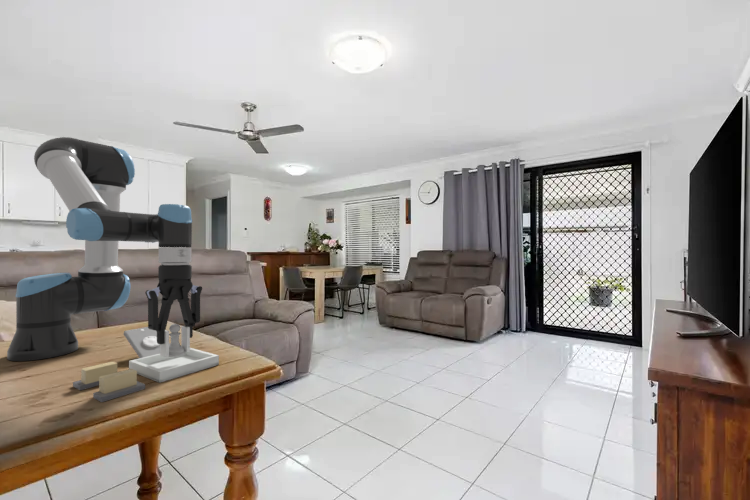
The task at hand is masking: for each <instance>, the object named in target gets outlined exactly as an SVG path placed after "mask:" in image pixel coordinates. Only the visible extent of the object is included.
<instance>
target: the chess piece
mask: <svg viewBox="0 0 750 500" xmlns="http://www.w3.org/2000/svg"><path fill="white" fill-rule="evenodd" d="M168 329H169V330H168V331H169V337H170V342H169V343H170V346H169V357H176V356H180V355H183V354H184V353H185V351H184V348H183V347H182V346H181V342H180V336H181V332H180V330H181V325H180V324H179V323H173V324H171V325H170V326H169V327H168Z"/></svg>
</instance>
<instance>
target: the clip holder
mask: <svg viewBox="0 0 750 500" xmlns="http://www.w3.org/2000/svg"><path fill="white" fill-rule="evenodd" d="M80 376H81V377H80V380H77V381H73V382H72V388H74V389H76V390H79V391H84V390H87V389H91V388H94V387H97V386H98V391H95V392H93V394H92V396H93V399H95V400H97V401H99V402H100V403H103V402H106V401H110V400H114V399H117V398H120V397H123V396H126V395H129V394H133V393H136V392H139V391H142V390H146V384H145V383H143V382H140V381H138V378H137V377H138V374H137V371H136V370H133V369H129V368H128V369H125V370H121V371H118V362H115V361H108V362H105V363H104V362H103V363H99V364H96V365H92V366H87V367H82V368H81V370H80Z"/></svg>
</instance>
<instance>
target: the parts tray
mask: <svg viewBox="0 0 750 500" xmlns="http://www.w3.org/2000/svg"><path fill="white" fill-rule="evenodd" d="M219 365H220V355H219V354H215V353H212V352H208V351H205V350H200V349H197V348H193V347H190V351H189V352H185V353H184V354H183V355H180V356H176V357H163V356H160V354H156V355H152V356H147V357H143V358H139V357H138V358H135V359H132V360H128V369H133V370H136V371H137V375H139V376H142V377H144V378H147V379H149V380H152V381H155V382H156V383H159V384H161V383H163V382H167V381H170V380H174V379H176V378H181V377H184V376H187V375H190V374H193V373H196V372H200V371H203V370H205V369H209V368H212V367H215V366H219Z"/></svg>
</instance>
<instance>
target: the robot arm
mask: <svg viewBox="0 0 750 500" xmlns="http://www.w3.org/2000/svg"><path fill="white" fill-rule="evenodd" d="M33 159H34V165H35V167H36V168H37V170H38V172H39V173H40V175H42V176H43V177H45V179H49V181H50V182H51V184H52V186H53V187H54V189H55V191H56V192H57V194H58V195H59V196H60V198H61V199H62V202H63V203H64V205H65V206H66V208H67V209H68V211H69V212H68V213H67V215H66V221H65V224H66V225H65V226H66V230H67V234H68V236H69V237H70V238H72V239H74V240H75V241H77V240H78V241H84V265H83V266H82V267H81V268H79V269H78V270H77V276H72V274H71V273H70V272H56V273H46V274H40V275H32V276H28V277H25V278H22V279H21V280H19V281H18V282H17V286H16V292H15V299H16V300H15V301H16V307H15V310H16V311H15V313H16V316H15V317H16V321H15V322H16V325H15V326H16V330H15V333H14V335H13V336H12V339H11V342H10V344H9V347H8V349H7V352H6V355H7V357H6V360H8V361H13V362H25V361H26V362H27V361H28V362H29V361H37V360H43V359H49V358H50V359H51V358H55V357H60V356H64V355H67V354H71V353H73V352H76V351H78V350H79V341H78V338H77V335H76V334H75V331H74V328H73V327H72V322H71V319H72V318H71V317H72V315H76V314H86V313H93V312H103V311H104V312H107V311H110V310H116V309H120V308H122V307H124V305H125V304H126V303H127V301H128V299H129V297H130V294H131V293H130V292H131V282H130V281H131V280H130V278H129V275H127V274H125V273H124V269H123V268H121V267H120V266H119V263H118V262H119V242H136V243H137V242H139V243H141V242H142V243H152V244H153V243H157V242H158V263H159V266H158V268H157V269H158V270H157V271H158V277H157V278H158V283H157V286H156V287H155V288H153V289H147V290H146V291H144V292H145V296H146V298H147V327H148V328H149V329H151V330H156V331H157V343H158V344H160V356H163V357H169V343H170V335H169V334H170V330H167V329H166V328H167V326H168V322H169V318H170V313H171V308H172V305H173V304H174V301H176V300H177V302H178V303H179V308H180V311H181V315H182V320H183V323H184V325H180V330H181V332H180V333H181V334H180V336H181V337H180V339H181V342H180V345H181V346H182V347H183V348H184V351H185V352H189V351H190V348H191V339H192V338H193V335H194V332H193V331H194V329H193V328H194V327H195V326H196V324H197V323H200V321H201V293H202V291H203V287H202V286H200V285H194V284H193V282H192V275H193V271H192V270H193V269H192V267H193V266H192V264H190V263H192V261H193V260H192V255H193V254H192V249H193V248H192V245H193V243H192V242H193V241H192V240H193V239H192V238H193V236H192V235H193V219H192V209H191V208H190V206H188V205H186V204H185V205H184V204H177V203H175V204H174V203H165V204H160V205H159V206H158V211H157V213H156V214H151V213H139V212H138V213H137V212H125V211H120V209H121V205H120V204H121V194H122V193H124V192H125V191H126V190H127V186H129V185H131V184H132V183H133V182H134V178H135V175H136V173H135V172H136V170H135V164H134V163H135V162H134V159H133V158H132V156H131V155H130V153H129V152H128V151H127V150H125V149H122V148H119V147H115V146H112V145H106V144H102V143H98V142H93V141H87V140H82V139H78V138H75V137H69V136H68V137H64V136H63V137H55V138H51V139H49V140H46V141H45V142H42V143H41V144H40V145H39V146H38V147H37V148H36V150H35V151H34V155H33ZM189 293H190V299H189ZM160 295H161V296H162V298H161V301H160V303H161V305H160V310H159V298H158V297H160ZM189 301H190V303H189Z"/></svg>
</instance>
